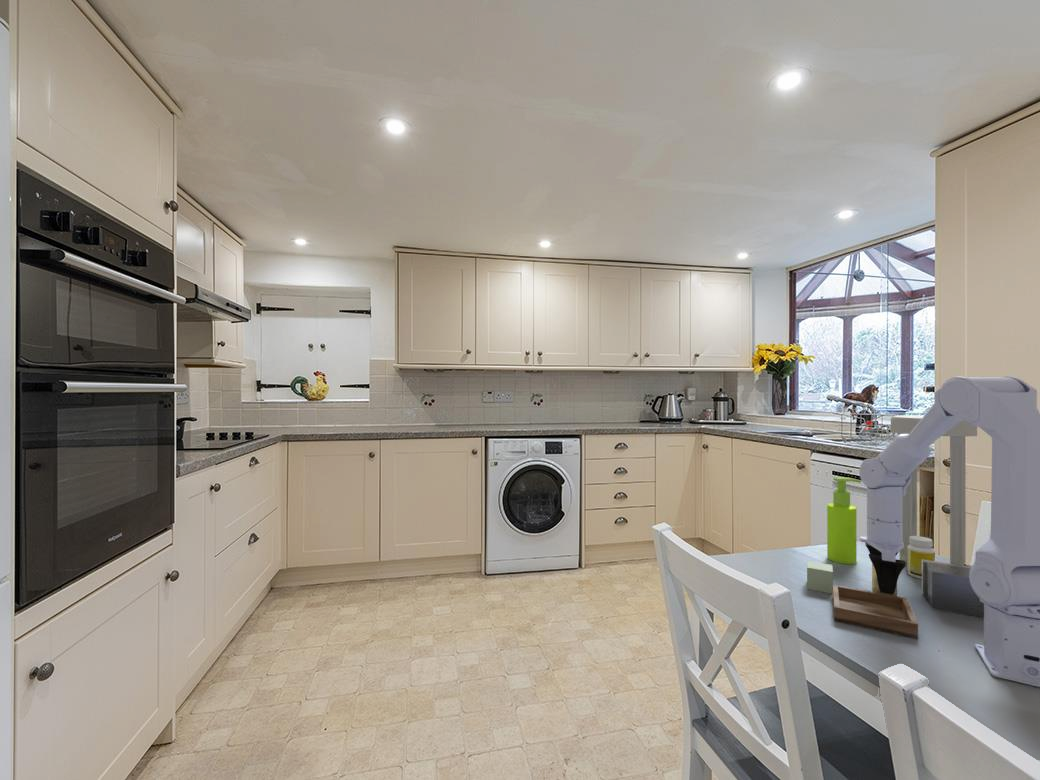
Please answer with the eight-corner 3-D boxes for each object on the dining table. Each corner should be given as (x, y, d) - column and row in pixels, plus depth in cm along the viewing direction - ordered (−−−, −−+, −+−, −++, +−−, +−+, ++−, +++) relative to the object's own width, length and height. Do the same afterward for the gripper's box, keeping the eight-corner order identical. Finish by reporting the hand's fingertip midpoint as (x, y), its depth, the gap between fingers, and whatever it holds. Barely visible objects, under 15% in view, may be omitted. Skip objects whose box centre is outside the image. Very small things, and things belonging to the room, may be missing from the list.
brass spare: (898, 602, 92) (898, 571, 92) (873, 597, 94) (873, 567, 94) (895, 594, 95) (895, 565, 95) (871, 590, 97) (871, 561, 97)
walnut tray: (918, 639, 78) (918, 624, 78) (834, 620, 84) (834, 606, 84) (907, 611, 88) (907, 598, 88) (832, 596, 94) (832, 584, 94)
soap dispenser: (866, 564, 111) (866, 480, 111) (834, 563, 112) (834, 479, 112) (853, 556, 117) (852, 476, 117) (822, 554, 118) (822, 475, 118)
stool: (887, 561, 114) (887, 416, 113) (896, 546, 124) (896, 414, 124) (976, 579, 103) (976, 419, 103) (977, 561, 114) (977, 416, 114)
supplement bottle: (940, 581, 102) (940, 542, 102) (915, 579, 103) (915, 541, 103) (926, 572, 107) (926, 535, 107) (902, 571, 108) (902, 534, 108)
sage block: (832, 593, 96) (832, 571, 96) (807, 588, 98) (807, 567, 98) (832, 586, 100) (832, 564, 100) (807, 581, 102) (807, 560, 102)
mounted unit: (994, 620, 85) (994, 581, 85) (928, 607, 90) (928, 570, 90) (981, 604, 91) (981, 567, 91) (921, 593, 96) (921, 558, 96)
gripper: (857, 508, 103) (857, 570, 103) (862, 524, 91) (862, 594, 91) (898, 513, 99) (898, 577, 99) (909, 530, 87) (909, 603, 87)
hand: (884, 586), depth 95 cm, fingers open, 7 cm apart
